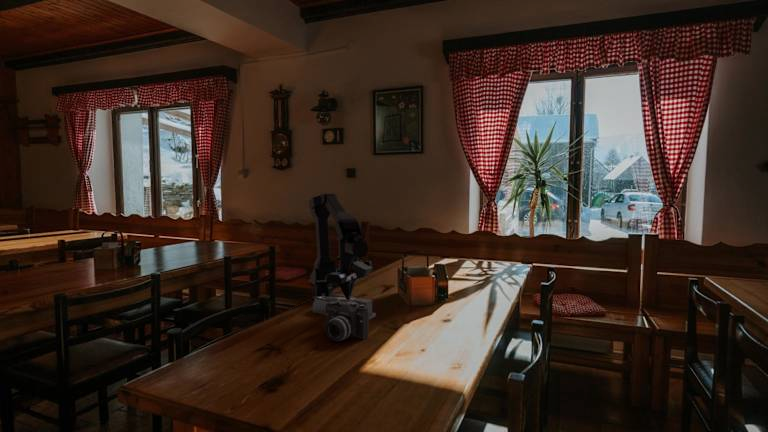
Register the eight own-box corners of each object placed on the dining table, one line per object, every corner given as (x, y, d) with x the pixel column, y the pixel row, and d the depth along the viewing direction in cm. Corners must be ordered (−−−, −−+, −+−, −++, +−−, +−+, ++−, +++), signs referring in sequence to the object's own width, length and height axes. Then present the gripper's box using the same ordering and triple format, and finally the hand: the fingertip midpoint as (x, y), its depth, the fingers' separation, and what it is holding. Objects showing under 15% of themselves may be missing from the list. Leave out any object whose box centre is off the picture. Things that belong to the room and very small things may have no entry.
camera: (310, 338, 132) (310, 305, 131) (331, 328, 141) (332, 296, 140) (351, 348, 125) (352, 312, 124) (371, 336, 134) (371, 303, 134)
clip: (352, 313, 153) (352, 300, 153) (358, 310, 157) (358, 297, 156) (366, 315, 151) (366, 302, 150) (372, 312, 154) (372, 299, 154)
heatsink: (310, 311, 158) (310, 297, 157) (327, 305, 166) (327, 291, 166) (346, 318, 151) (347, 304, 150) (362, 311, 159) (362, 297, 159)
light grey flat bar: (319, 299, 160) (319, 297, 160) (323, 297, 162) (323, 296, 162) (351, 301, 154) (351, 299, 154) (355, 300, 156) (355, 298, 156)
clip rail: (348, 316, 153) (348, 313, 153) (355, 312, 158) (356, 309, 158) (368, 320, 150) (368, 317, 149) (376, 316, 154) (376, 313, 154)
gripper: (353, 259, 143) (353, 308, 144) (380, 251, 159) (381, 295, 160) (324, 257, 148) (325, 304, 149) (353, 250, 165) (354, 292, 166)
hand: (348, 298), depth 156 cm, fingers closed, pressing on light grey flat bar
